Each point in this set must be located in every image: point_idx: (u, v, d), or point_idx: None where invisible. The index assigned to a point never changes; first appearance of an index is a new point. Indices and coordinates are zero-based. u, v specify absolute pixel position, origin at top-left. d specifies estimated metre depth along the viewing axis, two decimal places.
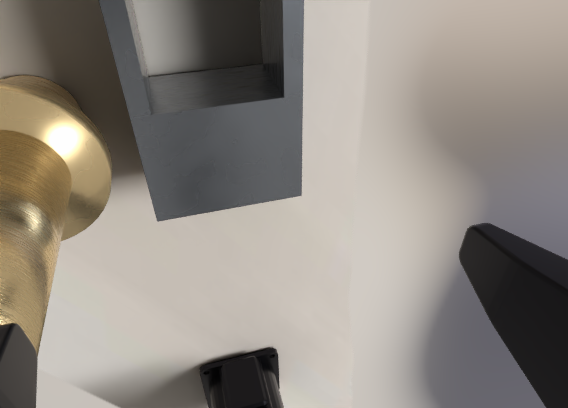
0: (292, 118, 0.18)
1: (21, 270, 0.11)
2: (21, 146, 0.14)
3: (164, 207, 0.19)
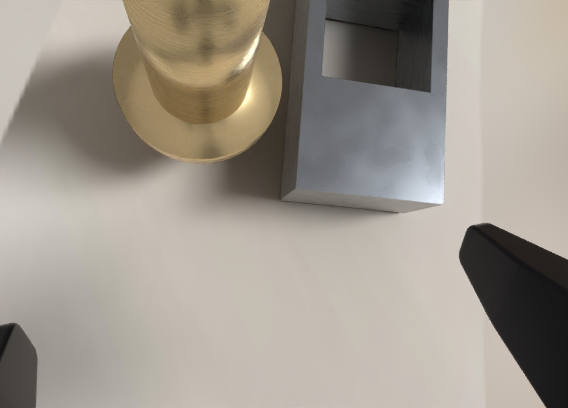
0: (437, 114, 0.20)
1: None
2: None
3: (307, 173, 0.19)
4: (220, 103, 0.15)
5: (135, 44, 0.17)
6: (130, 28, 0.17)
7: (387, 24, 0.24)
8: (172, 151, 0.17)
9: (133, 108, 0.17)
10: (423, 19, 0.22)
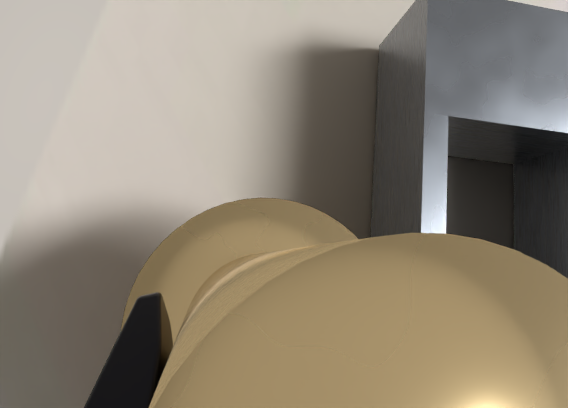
0: None
1: None
2: None
3: None
4: None
5: (158, 289, 0.10)
6: (149, 259, 0.10)
7: (501, 159, 0.17)
8: None
9: None
10: None
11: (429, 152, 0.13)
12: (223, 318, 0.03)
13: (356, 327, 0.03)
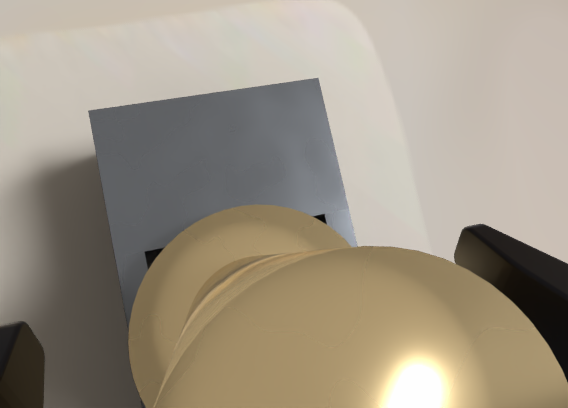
0: None
1: None
2: None
3: None
4: None
5: (163, 288, 0.11)
6: (155, 261, 0.11)
7: None
8: None
9: None
10: None
11: (130, 300, 0.12)
12: (221, 310, 0.04)
13: (320, 317, 0.04)
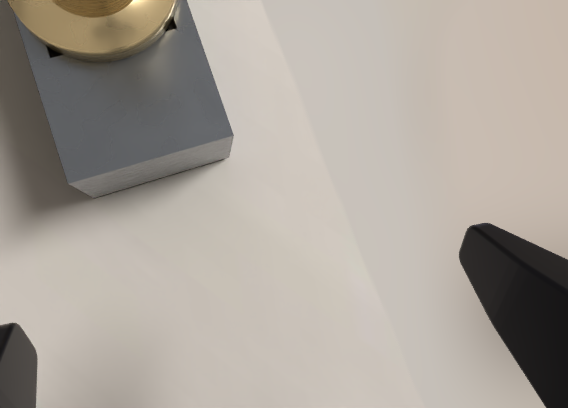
0: (192, 47, 0.19)
1: None
2: None
3: (74, 163, 0.17)
4: None
5: None
6: None
7: None
8: (69, 45, 0.17)
9: (25, 7, 0.17)
10: None
11: None
12: None
13: None
